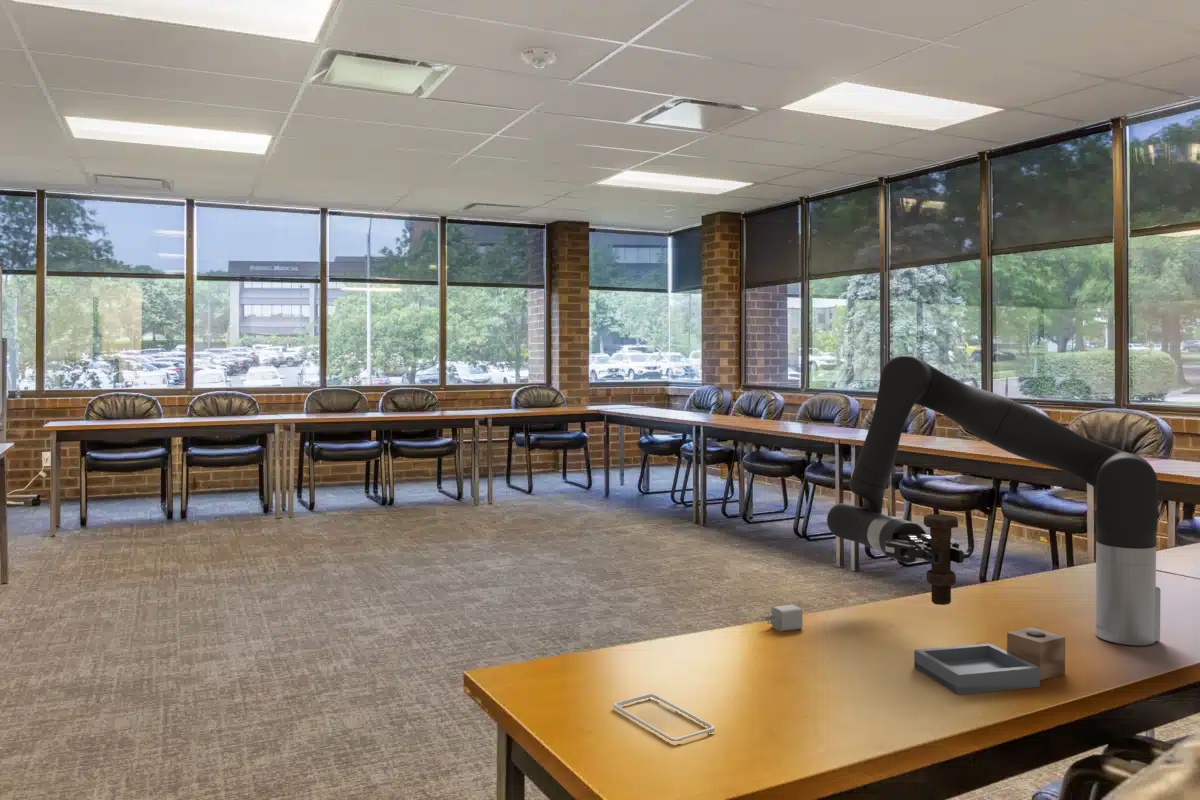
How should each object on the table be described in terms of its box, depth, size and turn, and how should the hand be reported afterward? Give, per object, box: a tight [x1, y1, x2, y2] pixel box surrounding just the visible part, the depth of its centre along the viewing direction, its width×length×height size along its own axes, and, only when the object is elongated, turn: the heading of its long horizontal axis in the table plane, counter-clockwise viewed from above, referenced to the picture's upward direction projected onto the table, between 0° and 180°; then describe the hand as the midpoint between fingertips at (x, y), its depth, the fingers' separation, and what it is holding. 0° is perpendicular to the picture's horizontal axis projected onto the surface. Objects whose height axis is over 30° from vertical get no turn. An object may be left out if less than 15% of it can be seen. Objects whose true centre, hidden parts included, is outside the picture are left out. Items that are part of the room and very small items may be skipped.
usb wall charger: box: [761, 604, 804, 632], centre depth 164 cm, size 4×7×4 cm, turn 109°
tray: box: [913, 642, 1041, 696], centre depth 137 cm, size 14×12×3 cm
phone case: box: [613, 693, 715, 741], centre depth 122 cm, size 7×1×15 cm
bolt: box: [923, 513, 959, 606], centre depth 148 cm, size 6×5×15 cm
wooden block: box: [1006, 626, 1066, 681], centre depth 139 cm, size 6×6×6 cm
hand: (950, 557), depth 145 cm, fingers closed on bolt, 3 cm apart
